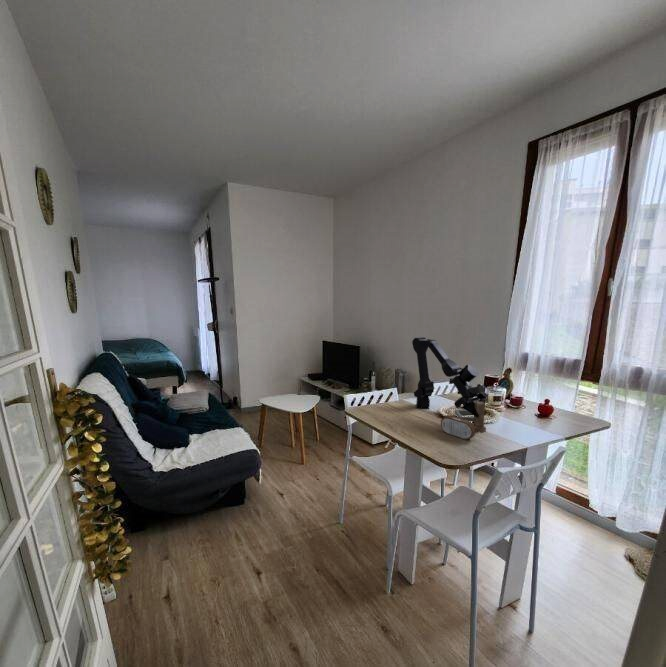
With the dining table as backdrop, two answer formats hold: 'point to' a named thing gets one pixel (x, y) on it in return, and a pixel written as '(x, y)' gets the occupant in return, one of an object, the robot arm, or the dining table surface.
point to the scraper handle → (479, 420)
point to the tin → (458, 427)
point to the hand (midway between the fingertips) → (481, 415)
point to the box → (464, 412)
